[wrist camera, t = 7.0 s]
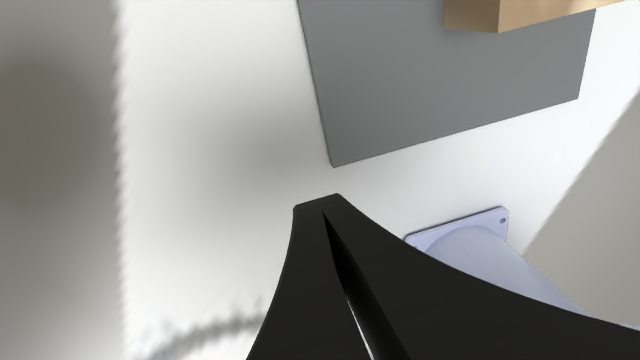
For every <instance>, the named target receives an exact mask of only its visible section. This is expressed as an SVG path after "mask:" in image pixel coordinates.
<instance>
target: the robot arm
mask: <svg viewBox="0 0 640 360" xmlns="http://www.w3.org/2000/svg"><path fill="white" fill-rule="evenodd" d="M508 219H509V211H508V210H507V209H506V208H505V207H500V208H497V209H493V210H490V211H487V212H484V213H480V214H477V215H474V216H471V217H467V218H464V219H461V220H458V221H454V222H451V223H448V224H445V225H441V226H438V227H435V228H432V229H428V230H425V231H422V232H419V233H415V234H412V235H409V236H408V237H407V238H406V239H405V241H403V240H401V239H400V238H398V237H397V236H395V235H393V234H392V233H390V232H389V231H387V230H386V229H384V228H383V227H381V226H380V225H379V224H377V223H376V222H374V221H373V220H371V219H370V218H369V217H367V216H366V215H365V214H363V213H362V212H361V211H359V210H358V209H357V208H356V207H354V206H353V205H352V204H351V203H349V202H348V201H347V200H346V199H345V198H344V197H343V196H341V195H340V194H338V193H335V194H332V195H329V196H325V197H322V198H318V199H315V200H311V201H308V202H304V203H301V204H298V205H295V207H294V208H293V223H292V230H291V237H290V241H289V246H288V250H287V255H286V259H285V262H284V266H283V269H282V272H281V276H280V279H279V282H278V285H277V288H276V291H275V294H274V297H273V300H272V302H271V305H270V307H269V310H268V312H267V315H266V317H265V320H264V322H263V324H262V327H261V329H260V331H259V333H258V335H257V337H256V340H255V342H254V344H253V346H252V348H251V350H250V352H249V354H248V356H247V358H246V360H371V358H370V356H369V353H368V351H367V348H366V346H365V343H364V341H363V339H362V336H361V334H360V331H359V328H358V326H357V323H356V321H355V318H354V316H353V313H354V315H355V317H356V320H357V322H358V324H359V326H360V328H361V331H362V333H363V335H364V337H365V339H366V342H367V344H368V346H369V348H370V350H371V352H372V355H373V357H374V360H640V326H631V325H629V324H626V323H621V324H619V325H618V324H614V323H610V322H607V321H603V320H599V319H597V318H596V317H595V316H593V315H590V316H589V315H588V314H587V313H586V312H585V311H583V310H582V309H581V308H580V307H579V306H578V305H577V304H575V303H574V302H573V301H572V300H571V299H570V298H569V297H568V296H566V295H565V294H564V293H563V292H562V291H561V290H560V289H558V288H557V287H556V286H555V285H554V284H553V283H552V282H551V281H549V280H548V279H547V278H546V277H545V276H544V275H542V274H541V273H540V272H539V271H538V270H537V269H536V268H535V267H533V266H532V265H531V264H530V263H529V262H528V261H527V260H525V259H524V258H523V257H522V256H521V255H520V254H519V253H518V252H516V251H515V250H514V249H513V248H512V247H511V246H510V245H508V244H507V243H506V236H507V227H508ZM347 300H348V301H347ZM348 302H349V303H348ZM349 304H350V306H349ZM350 307H351V308H350ZM351 309H352V311H353V313H352V311H351Z"/></svg>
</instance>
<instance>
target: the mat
mask: <svg viewBox="0 0 640 360" xmlns="http://www.w3.org/2000/svg"><path fill="white" fill-rule="evenodd" d="M297 3H298V8H299V12H300V17H301V22H302V27H303V32H304V36H305V41H306V46H307V51H308V56H309V60H310V65H311V70H312V75H313V80H314V84H315V89H316V94H317V99H318V104H319V108H320V113H321V118H322V123H323V128H324V132H325V137H326V142H327V147H328V152H329V156H330V161H331V165H332V167H333V168H336V167H339V166H343V165H346V164H350V163H353V162H357V161H360V160H364V159H367V158H371V157H374V156H378V155H381V154H385V153H388V152H392V151H396V150H399V149H403V148H406V147H410V146H413V145H417V144H420V143H424V142H427V141H431V140H434V139H438V138H441V137H445V136H449V135H452V134H456V133H459V132H463V131H466V130H470V129H473V128H477V127H480V126H484V125H487V124H491V123H494V122H498V121H501V120H505V119H509V118H512V117H516V116H519V115H523V114H526V113H530V112H533V111H537V110H540V109H544V108H547V107H551V106H554V105H558V104H561V103H565V102H569V101H572V100H576V99H578V96H579V91H580V86H581V81H582V76H583V71H584V66H585V61H586V56H587V52H588V47H589V42H590V37H591V32H592V27H593V22H594V17H595V12H596V8H594V9H590V10H586V11H582V12H579V13H575V14H571V15H567V16H563V17H559V18H555V19H551V20H547V21H544V22H540V23H536V24H532V25H528V26H524V27H520V28H516V29H513V30H509V31H505V32H501V33H489V32H477V31H465V30H453V29H444V0H297Z"/></svg>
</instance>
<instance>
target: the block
mask: <svg viewBox="0 0 640 360" xmlns="http://www.w3.org/2000/svg"><path fill="white" fill-rule="evenodd" d="M621 1H625V0H444V29H453V30H465V31H477V32H489V33H501V32H505V31H509V30H513V29H516V28H520V27H524V26H528V25H532V24H536V23H540V22H544V21H547V20H551V19H555V18H559V17H563V16H567V15H571V14H575V13H579V12H582V11H586V10H590V9H594V8H598V7H602V6H606V5H610V4H613V3H617V2H621Z"/></svg>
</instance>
